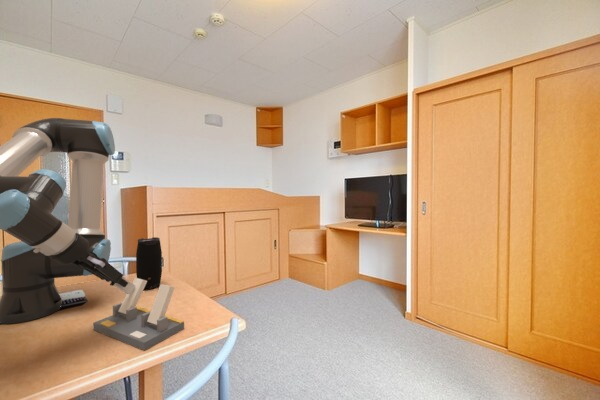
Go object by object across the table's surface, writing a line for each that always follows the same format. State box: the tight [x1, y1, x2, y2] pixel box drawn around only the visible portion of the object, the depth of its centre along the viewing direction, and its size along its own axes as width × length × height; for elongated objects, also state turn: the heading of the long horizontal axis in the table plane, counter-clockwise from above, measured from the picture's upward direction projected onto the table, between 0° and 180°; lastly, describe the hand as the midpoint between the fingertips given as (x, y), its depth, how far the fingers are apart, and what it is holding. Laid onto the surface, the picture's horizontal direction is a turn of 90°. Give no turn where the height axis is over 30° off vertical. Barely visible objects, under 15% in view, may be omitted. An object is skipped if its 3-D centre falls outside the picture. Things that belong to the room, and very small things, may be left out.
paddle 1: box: [118, 277, 147, 316], centre depth 82 cm, size 5×2×10 cm
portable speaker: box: [135, 236, 163, 291], centre depth 110 cm, size 9×9×20 cm
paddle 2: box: [147, 283, 175, 326], centre depth 76 cm, size 5×2×10 cm, turn 64°
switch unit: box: [92, 302, 185, 351], centre depth 77 cm, size 22×12×5 cm, turn 64°
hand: (131, 289), depth 82 cm, fingers closed
